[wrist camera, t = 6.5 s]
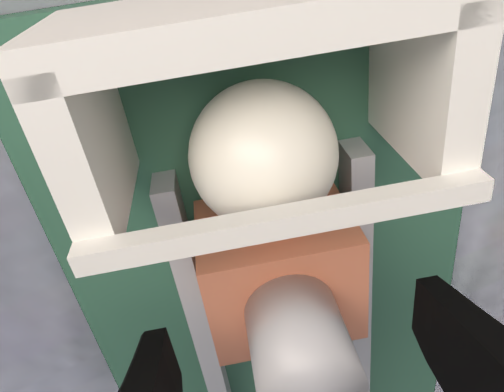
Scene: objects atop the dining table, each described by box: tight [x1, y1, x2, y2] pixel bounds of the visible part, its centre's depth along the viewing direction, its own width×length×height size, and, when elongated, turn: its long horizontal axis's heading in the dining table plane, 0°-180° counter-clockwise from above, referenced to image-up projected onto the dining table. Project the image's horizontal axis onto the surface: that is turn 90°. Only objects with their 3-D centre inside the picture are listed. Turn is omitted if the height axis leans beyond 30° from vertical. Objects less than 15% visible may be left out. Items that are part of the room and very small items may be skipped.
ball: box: [188, 79, 339, 216], centre depth 13 cm, size 4×4×4 cm
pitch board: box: [0, 0, 462, 392], centre depth 18 cm, size 22×16×2 cm
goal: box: [0, 0, 504, 278], centre depth 11 cm, size 5×10×6 cm, turn 98°
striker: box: [194, 183, 370, 392], centre depth 14 cm, size 4×5×7 cm
